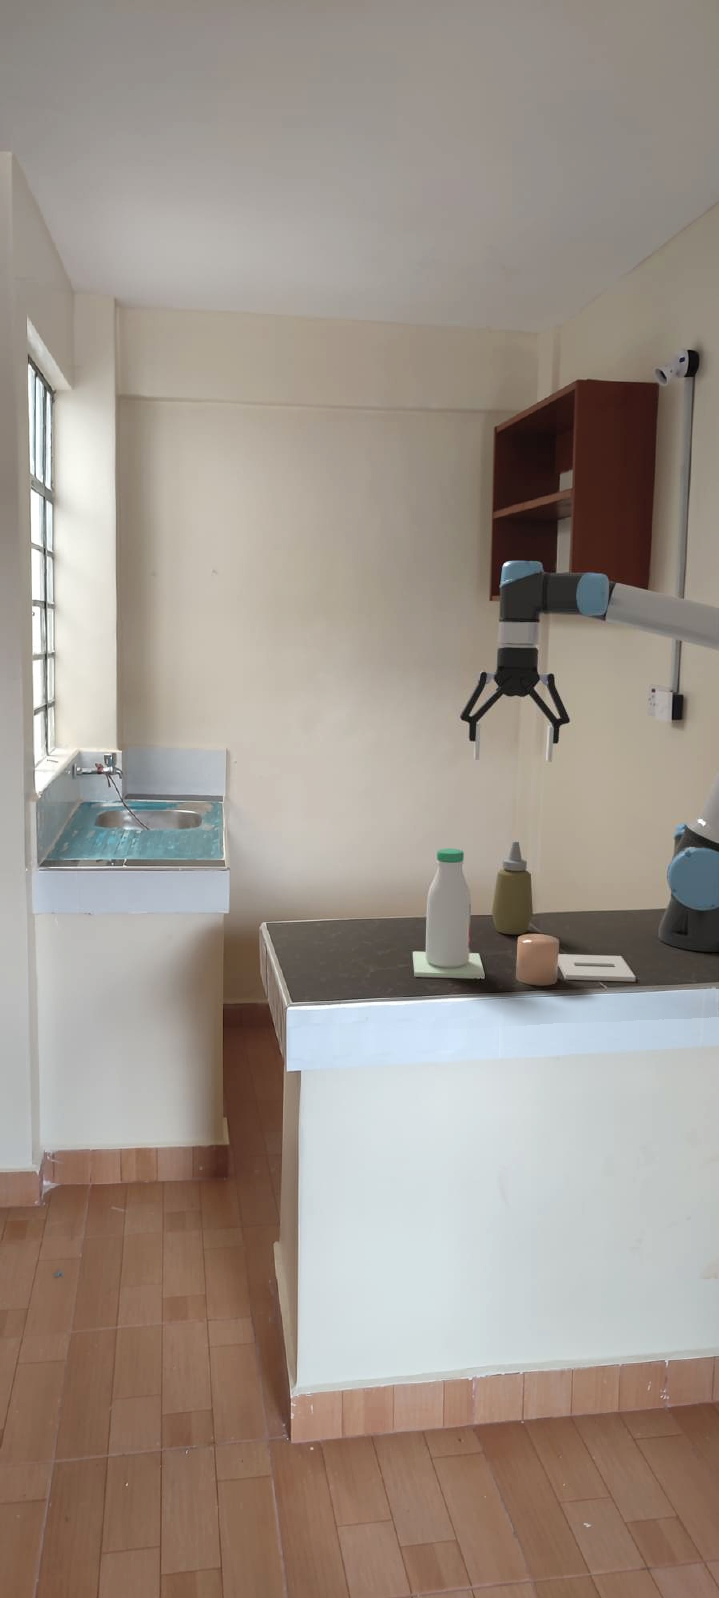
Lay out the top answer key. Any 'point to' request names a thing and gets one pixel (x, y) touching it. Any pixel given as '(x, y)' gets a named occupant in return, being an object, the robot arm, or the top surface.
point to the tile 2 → (594, 968)
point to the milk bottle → (448, 912)
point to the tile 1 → (448, 968)
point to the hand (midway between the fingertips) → (512, 760)
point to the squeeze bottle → (513, 895)
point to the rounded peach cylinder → (537, 959)
